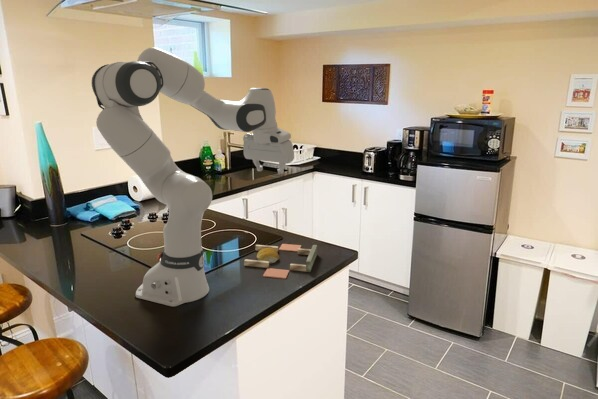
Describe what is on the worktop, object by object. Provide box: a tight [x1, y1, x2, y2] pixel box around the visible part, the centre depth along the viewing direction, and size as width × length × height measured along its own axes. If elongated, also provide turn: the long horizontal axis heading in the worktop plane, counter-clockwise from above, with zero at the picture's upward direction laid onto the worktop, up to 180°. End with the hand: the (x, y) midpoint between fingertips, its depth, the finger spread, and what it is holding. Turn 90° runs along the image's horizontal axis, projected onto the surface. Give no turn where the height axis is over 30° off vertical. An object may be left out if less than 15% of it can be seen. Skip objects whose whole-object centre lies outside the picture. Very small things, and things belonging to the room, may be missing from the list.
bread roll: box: [256, 248, 280, 264], centre depth 157 cm, size 8×9×4 cm
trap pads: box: [262, 243, 302, 280], centre depth 157 cm, size 8×29×1 cm, turn 169°
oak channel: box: [243, 244, 318, 273], centre depth 156 cm, size 24×15×4 cm, turn 79°
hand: (270, 172), depth 150 cm, fingers open, 8 cm apart
